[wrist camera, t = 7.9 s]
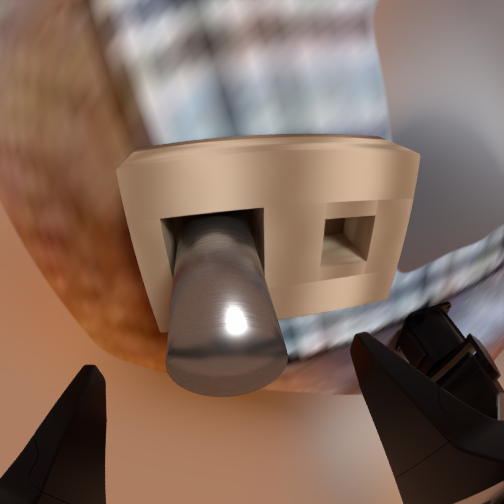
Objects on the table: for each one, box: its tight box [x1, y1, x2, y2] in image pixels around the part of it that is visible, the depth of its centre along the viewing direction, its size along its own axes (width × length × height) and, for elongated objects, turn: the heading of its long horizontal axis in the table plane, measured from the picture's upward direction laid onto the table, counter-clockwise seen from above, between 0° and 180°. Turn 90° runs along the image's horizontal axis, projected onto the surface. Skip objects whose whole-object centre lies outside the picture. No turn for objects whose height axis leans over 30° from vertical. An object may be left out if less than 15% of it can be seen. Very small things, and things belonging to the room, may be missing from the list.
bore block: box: [116, 134, 420, 333], centre depth 17 cm, size 15×10×4 cm, turn 92°
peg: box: [166, 209, 288, 397], centre depth 13 cm, size 4×4×10 cm
